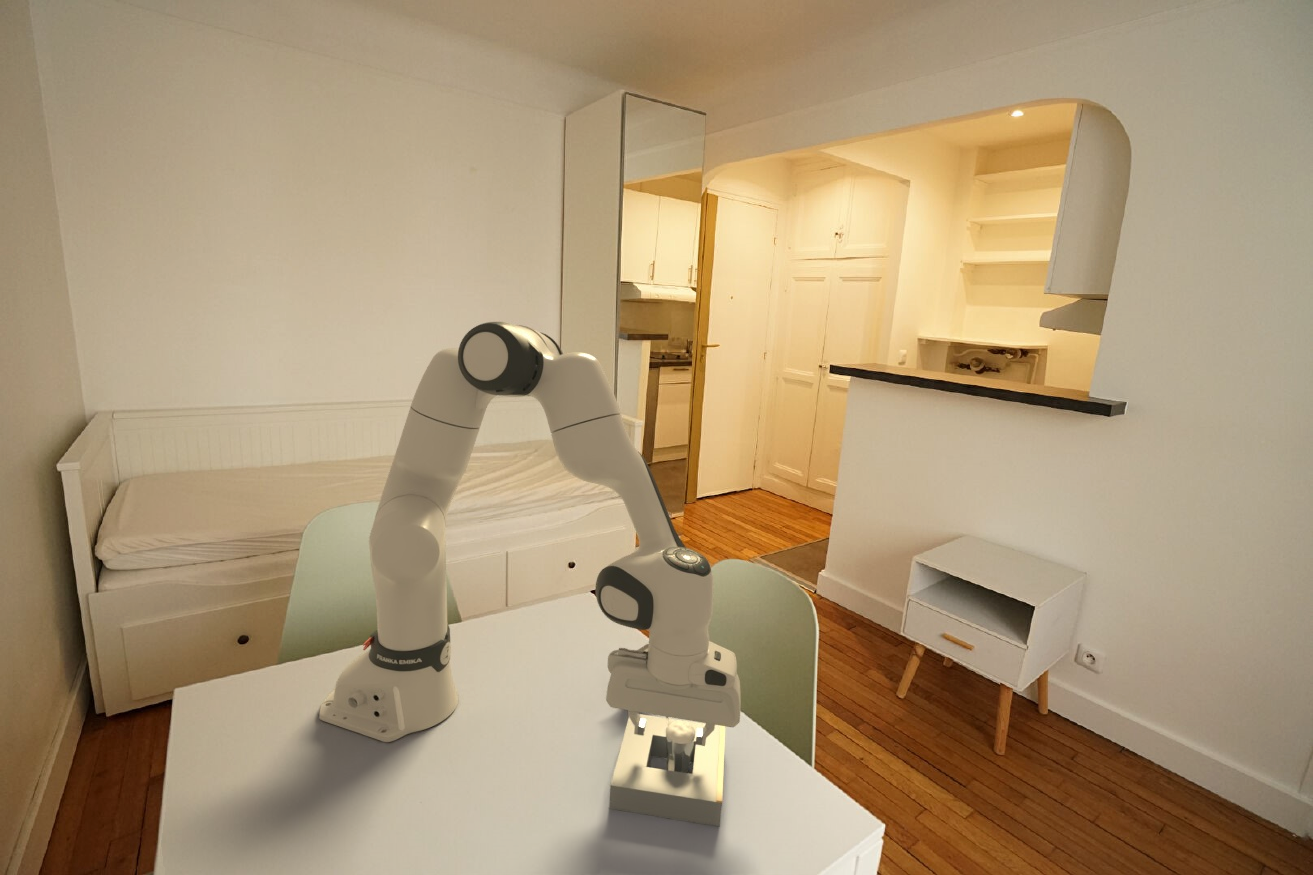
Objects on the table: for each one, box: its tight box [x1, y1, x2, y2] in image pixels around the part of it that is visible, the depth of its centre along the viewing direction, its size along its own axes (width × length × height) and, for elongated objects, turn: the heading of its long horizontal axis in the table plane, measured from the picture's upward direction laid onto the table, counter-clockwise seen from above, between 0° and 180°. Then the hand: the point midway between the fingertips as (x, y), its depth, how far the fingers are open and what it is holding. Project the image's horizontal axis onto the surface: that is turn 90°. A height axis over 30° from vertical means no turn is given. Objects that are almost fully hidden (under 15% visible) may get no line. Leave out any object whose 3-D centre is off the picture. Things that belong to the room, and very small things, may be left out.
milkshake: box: [665, 716, 695, 773], centre depth 95 cm, size 4×5×10 cm
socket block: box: [608, 713, 726, 828], centre depth 95 cm, size 16×16×4 cm
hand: (669, 737), depth 93 cm, fingers open, 8 cm apart
